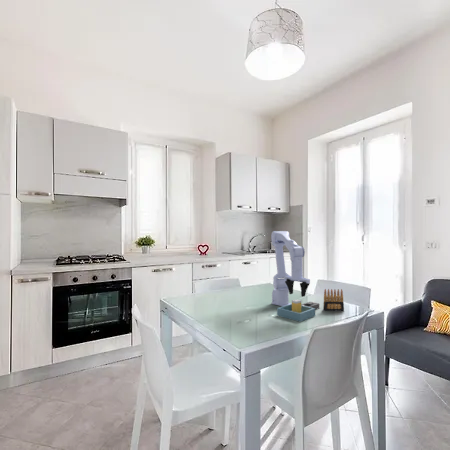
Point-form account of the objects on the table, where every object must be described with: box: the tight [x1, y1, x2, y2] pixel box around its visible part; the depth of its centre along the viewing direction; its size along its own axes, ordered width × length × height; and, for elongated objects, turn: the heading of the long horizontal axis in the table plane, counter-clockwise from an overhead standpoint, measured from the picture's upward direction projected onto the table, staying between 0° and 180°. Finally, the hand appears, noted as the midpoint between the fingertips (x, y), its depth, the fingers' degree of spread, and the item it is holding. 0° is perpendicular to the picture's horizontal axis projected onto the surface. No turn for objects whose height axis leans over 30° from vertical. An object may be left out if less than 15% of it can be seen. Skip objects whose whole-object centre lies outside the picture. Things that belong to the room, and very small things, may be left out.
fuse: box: [291, 298, 302, 313], centre depth 151 cm, size 3×4×7 cm
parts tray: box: [276, 303, 316, 323], centre depth 151 cm, size 14×14×4 cm
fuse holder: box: [301, 301, 320, 310], centre depth 162 cm, size 6×14×3 cm, turn 133°
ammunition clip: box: [323, 288, 345, 312], centre depth 160 cm, size 11×2×12 cm, turn 85°
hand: (297, 295), depth 152 cm, fingers open, 7 cm apart
